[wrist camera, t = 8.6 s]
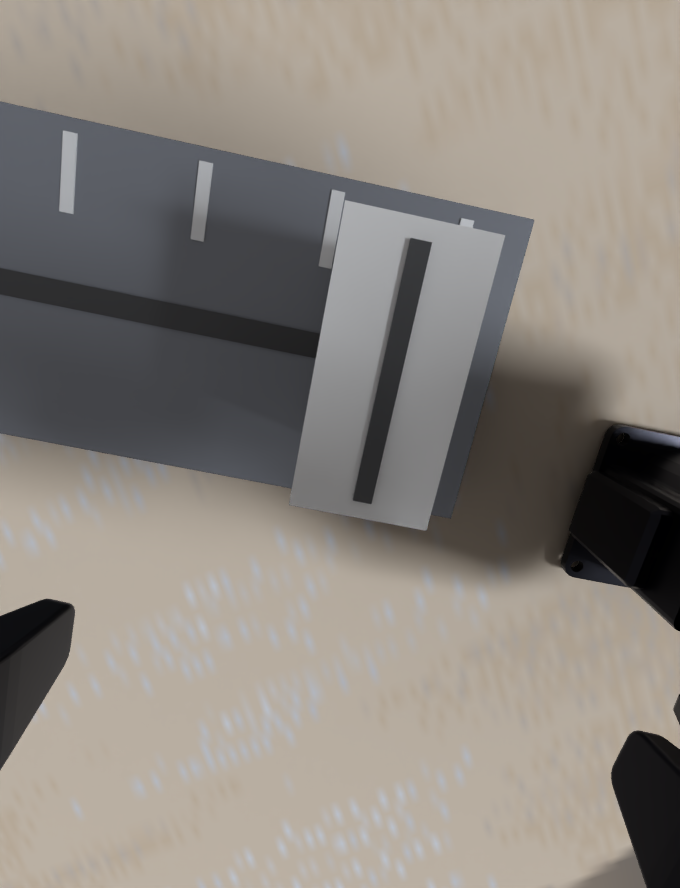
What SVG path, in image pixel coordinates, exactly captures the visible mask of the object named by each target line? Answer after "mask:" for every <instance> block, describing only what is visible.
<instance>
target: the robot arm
mask: <svg viewBox="0 0 680 888" xmlns="http://www.w3.org/2000/svg"><path fill="white" fill-rule="evenodd" d="M621 433H623V434H624V438H623V440H622V441H621V442H619V443H617V437H618V435H619V434H621ZM569 531H570V532H571V533H570V536H569V539H568V541H567V544H566V547H565V550H564V553H563V556H562V558H561V567H562V568H563V570H564V571H565V572H566V573H567V574H568V575H569V576H572V577H575V578H580V579H586V580H591V581H596V582H602V583H607V584H613V585H618V586H623V587H629V588H631V589H632V590H633V591H635V592H636V593H637V594H638V595H639V596H640V597H641V598H642V599H643V600H644V601H645V602H646V603H648V604H649V605H650V606H651V607H652V608H653V609H654V610H655V611H656V612H657V613H658V614H659V615H661V616H662V617H663V618H664V619H665V620H666V621H667V622H668V623H669V624H670V625H671V626H672V627H674V628H675V629H676V630H678V631H680V436H676V435H671V434H666V433H661V432H656V431H651V430H647V429H642V428H637V427H632V426H627V425H622V424H617V425H614V426H612V427H610V428H609V429H608V430H607V432H606V434H605V436H604V439H603V442H602V445H601V448H600V450H599V453H598V456H597V459H596V462H595V465H594V467H593V470H592V473H590V474H589V475H588V476H587V479H586V482H585V485H584V488H583V491H582V494H581V496H580V499H579V502H578V505H577V508H576V511H575V514H574V516H573V519H572V522H571V525H570V528H569ZM575 561H579V563H578V564H577V566H575V567H571V565H572V563H573V562H575ZM74 617H75V609H74V606H73V605H72V604H70V603H66V602H62V601H57V600H53V599H44V600H40V601H38V602H35V603H32V604H30V605H27V606H25V607H22V608H20V609H17V610H14V611H12V612H9V613H7V614H4V615H1V616H0V770H1V768H2V767H3V765H4V764H5V762H6V760H7V759H8V757H9V756H10V754H11V752H12V751H13V749H14V748H15V746H16V744H17V743H18V741H19V739H20V738H21V736H22V734H23V733H24V731H25V729H26V728H27V726H28V725H29V723H30V721H31V720H32V718H33V716H34V715H35V713H36V711H37V710H38V708H39V706H40V705H41V703H42V701H43V700H44V698H45V697H46V695H47V693H48V692H49V690H50V688H51V687H52V685H53V683H54V682H55V680H56V678H57V677H58V675H59V674H60V672H61V670H62V669H63V667H64V665H65V663H66V661H67V658H68V656H69V652H70V647H71V639H72V632H73V624H74ZM673 709H674V713H675V715H676V717H677V720H678V722H679V724H680V694H679V696H678V698H677V701H676V703H675V706H674V708H673ZM611 780H612V785H613V789H614V792H615V795H616V798H617V801H618V804H619V807H620V810H621V813H622V816H623V819H624V822H625V825H626V828H627V831H628V834H629V837H630V840H631V843H632V846H633V849H634V851H635V854H636V857H637V860H638V863H639V866H640V869H641V872H642V875H643V878H644V881H645V884H646V887H647V888H680V749H678V748H677V747H676V746H674V745H673V744H672V743H670V742H669V741H668V740H667V739H665V738H664V737H662V736H660V735H657V734H652V733H648V732H643V731H633V732H632V733H631V734H629V736H628V737H627V739H626V741H625V743H624V745H623V747H622V749H621V751H620V753H619V755H618V757H617V759H616V761H615V763H614V765H613V767H612V772H611Z"/></svg>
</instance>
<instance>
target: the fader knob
mask: <svg viewBox="0 0 680 888" xmlns="http://www.w3.org/2000/svg"><path fill="white" fill-rule="evenodd" d="M504 239H505V235H502V234H498V233H493V232H488V231H484V230H479V229H475V228H470V227H466V226H461V225H456V224H452V223H447V222H443V221H438V220H434V219H429V218H424V217H420V216H415V215H411V214H406V213H402V212H397V211H393V210H388V209H383V208H379V207H374V206H370V205H365V204H361V203H356V202H351V201H347V200H345V203H344V209H343V214H342V220H341V225H340V230H339V236H338V241H337V247H336V252H335V257H334V263H333V268H332V274H331V279H330V284H329V290H328V295H327V301H326V306H325V312H324V317H323V322H322V328H321V333H320V339H319V344H318V349H317V355H316V360H315V366H314V371H313V376H312V382H311V387H310V393H309V398H308V403H307V409H306V414H305V420H304V425H303V431H302V436H301V441H300V447H299V452H298V458H297V463H296V468H295V474H294V479H293V485H292V490H291V495H290V501H289V505H291V506H297V507H302V508H307V509H313V510H318V511H323V512H329V513H334V514H339V515H345V516H350V517H355V518H361V519H366V520H371V521H377V522H382V523H387V524H393V525H398V526H403V527H409V528H414V529H419V530H425V531H426V530H427V527H428V523H429V519H430V515H431V512H432V508H433V504H434V500H435V497H436V493H437V489H438V486H439V482H440V478H441V474H442V471H443V467H444V463H445V459H446V456H447V452H448V448H449V444H450V441H451V437H452V433H453V429H454V426H455V422H456V418H457V414H458V411H459V407H460V403H461V400H462V396H463V392H464V388H465V385H466V381H467V377H468V373H469V370H470V366H471V362H472V358H473V355H474V351H475V347H476V343H477V340H478V336H479V332H480V328H481V325H482V321H483V317H484V314H485V310H486V306H487V302H488V299H489V295H490V291H491V287H492V284H493V280H494V276H495V272H496V269H497V265H498V261H499V257H500V254H501V250H502V246H503V242H504Z"/></svg>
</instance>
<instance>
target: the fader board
mask: <svg viewBox="0 0 680 888" xmlns="http://www.w3.org/2000/svg"><path fill="white" fill-rule="evenodd" d="M345 200H347V201H351V202H356V203H361V204H365V205H370V206H374V207H379V208H383V209H388V210H393V211H397V212H402V213H406V214H411V215H415V216H420V217H424V218H429V219H434V220H438V221H443V222H447V223H452V224H456V225H461V226H466V227H470V228H475V229H479V230H484V231H488V232H493V233H498V234H502V235H505V239H504V242H503V246H502V250H501V254H500V257H499V261H498V265H497V269H496V272H495V276H494V280H493V284H492V287H491V291H490V295H489V299H488V302H487V306H486V310H485V314H484V317H483V321H482V325H481V328H480V332H479V336H478V340H477V343H476V347H475V351H474V355H473V358H472V362H471V366H470V370H469V373H468V377H467V381H466V385H465V388H464V392H463V396H462V400H461V403H460V407H459V411H458V414H457V418H456V422H455V426H454V429H453V433H452V437H451V441H450V444H449V448H448V452H447V456H446V459H445V463H444V467H443V471H442V474H441V478H440V482H439V486H438V489H437V493H436V497H435V500H434V504H433V508H432V512H431V515H435V516H440V517H445V518H451V517H452V513H453V509H454V506H455V502H456V499H457V495H458V492H459V488H460V484H461V481H462V477H463V474H464V470H465V467H466V463H467V459H468V456H469V452H470V449H471V445H472V441H473V438H474V434H475V431H476V427H477V424H478V420H479V416H480V413H481V409H482V406H483V402H484V399H485V395H486V391H487V388H488V384H489V381H490V377H491V374H492V370H493V366H494V363H495V359H496V356H497V352H498V349H499V345H500V341H501V338H502V334H503V331H504V327H505V323H506V320H507V316H508V313H509V309H510V306H511V302H512V298H513V295H514V291H515V288H516V284H517V281H518V277H519V273H520V270H521V266H522V263H523V259H524V256H525V252H526V248H527V245H528V241H529V238H530V234H531V231H532V227H533V223H534V220H533V219H529V218H524V217H520V216H515V215H511V214H506V213H502V212H497V211H492V210H488V209H483V208H479V207H474V206H470V205H465V204H461V203H456V202H452V201H447V200H443V199H438V198H434V197H429V196H425V195H420V194H416V193H411V192H407V191H402V190H398V189H393V188H389V187H384V186H380V185H375V184H371V183H366V182H361V181H357V180H352V179H348V178H343V177H339V176H334V175H330V174H325V173H321V172H316V171H312V170H307V169H303V168H298V167H294V166H289V165H285V164H280V163H276V162H271V161H267V160H262V159H258V158H253V157H249V156H244V155H239V154H235V153H230V152H226V151H221V150H217V149H212V148H208V147H203V146H199V145H194V144H190V143H185V142H181V141H176V140H172V139H167V138H163V137H158V136H154V135H149V134H145V133H140V132H136V131H131V130H127V129H122V128H118V127H113V126H108V125H104V124H99V123H95V122H90V121H86V120H81V119H77V118H72V117H68V116H63V115H59V114H54V113H50V112H45V111H41V110H36V109H32V108H27V107H23V106H18V105H14V104H9V103H5V102H0V433H2V434H7V435H12V436H18V437H23V438H28V439H33V440H39V441H44V442H49V443H55V444H60V445H65V446H70V447H76V448H81V449H86V450H92V451H97V452H102V453H107V454H113V455H118V456H123V457H129V458H134V459H139V460H144V461H150V462H155V463H160V464H165V465H171V466H176V467H181V468H187V469H192V470H197V471H202V472H208V473H213V474H218V475H224V476H229V477H234V478H239V479H245V480H250V481H255V482H261V483H266V484H271V485H276V486H282V487H287V488H292V485H293V479H294V474H295V468H296V463H297V458H298V452H299V447H300V441H301V436H302V431H303V425H304V420H305V414H306V409H307V403H308V398H309V393H310V387H311V382H312V376H313V371H314V366H315V360H316V355H317V349H318V344H319V339H320V333H321V328H322V322H323V317H324V312H325V306H326V301H327V295H328V290H329V284H330V279H331V274H332V268H333V263H334V257H335V252H336V247H337V241H338V236H339V230H340V225H341V220H342V214H343V209H344V203H345Z"/></svg>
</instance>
